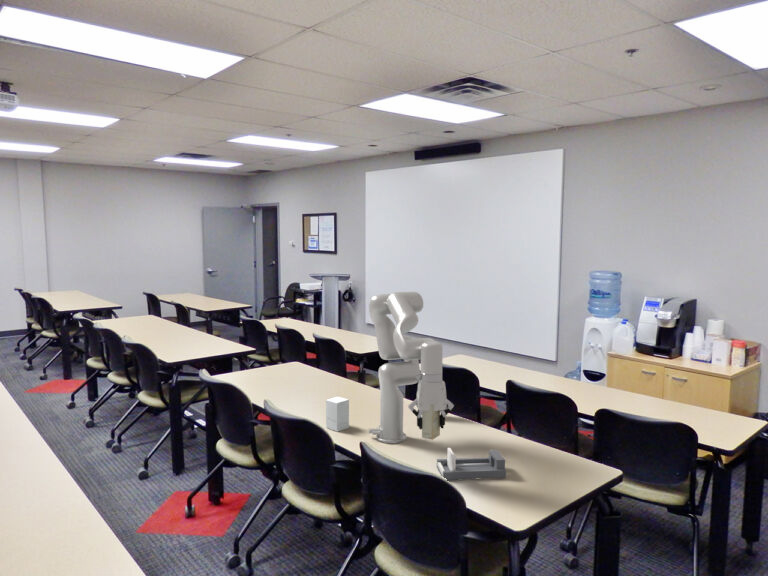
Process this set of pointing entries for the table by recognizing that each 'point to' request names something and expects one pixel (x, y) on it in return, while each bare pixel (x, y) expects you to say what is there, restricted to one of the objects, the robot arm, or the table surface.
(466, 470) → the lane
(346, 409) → the supplement box
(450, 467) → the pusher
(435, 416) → the skincare box
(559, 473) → the table surface
